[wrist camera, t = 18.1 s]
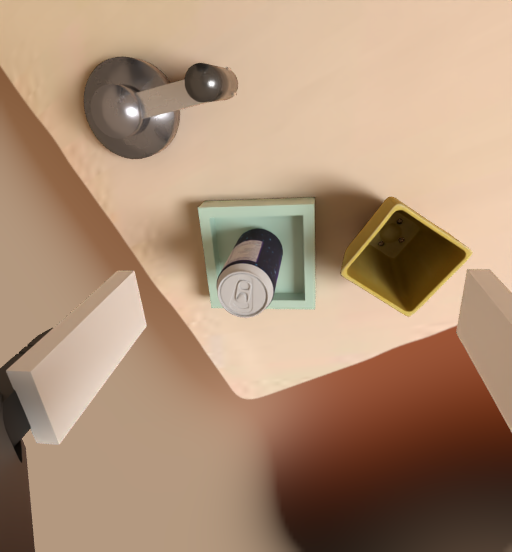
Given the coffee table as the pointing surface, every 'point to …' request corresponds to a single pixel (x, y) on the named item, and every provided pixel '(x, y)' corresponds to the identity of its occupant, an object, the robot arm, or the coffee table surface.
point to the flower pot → (402, 257)
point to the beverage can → (250, 273)
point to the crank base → (142, 79)
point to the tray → (277, 219)
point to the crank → (158, 99)
